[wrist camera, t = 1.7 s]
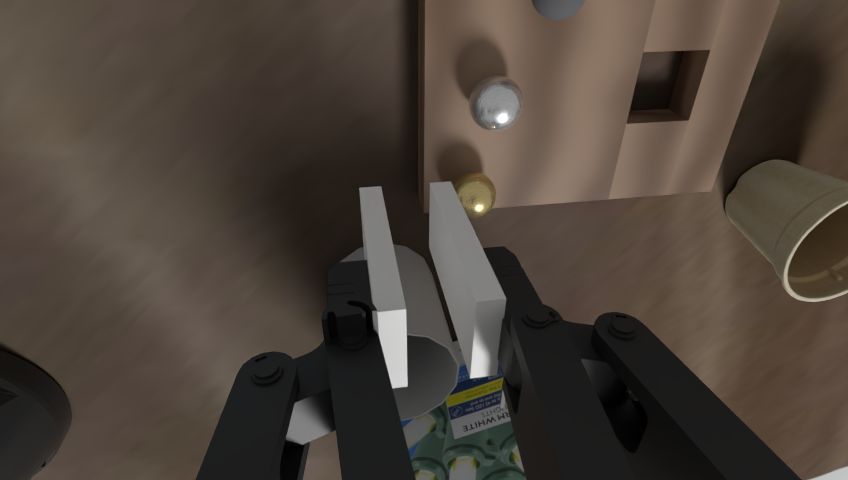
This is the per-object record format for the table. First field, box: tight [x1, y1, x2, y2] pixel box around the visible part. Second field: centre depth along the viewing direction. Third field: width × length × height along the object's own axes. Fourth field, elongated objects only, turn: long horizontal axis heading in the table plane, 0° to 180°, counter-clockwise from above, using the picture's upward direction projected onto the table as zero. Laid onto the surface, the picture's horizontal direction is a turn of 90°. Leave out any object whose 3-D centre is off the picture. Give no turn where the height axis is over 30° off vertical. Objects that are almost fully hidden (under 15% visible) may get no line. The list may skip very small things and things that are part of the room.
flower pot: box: [725, 160, 848, 302], centre depth 38 cm, size 9×9×9 cm
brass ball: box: [453, 172, 496, 218], centre depth 32 cm, size 3×3×3 cm
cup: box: [340, 244, 459, 421], centre depth 36 cm, size 8×8×10 cm
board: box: [418, 0, 780, 214], centre depth 32 cm, size 22×16×2 cm
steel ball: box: [469, 75, 524, 132], centre depth 29 cm, size 3×3×3 cm
